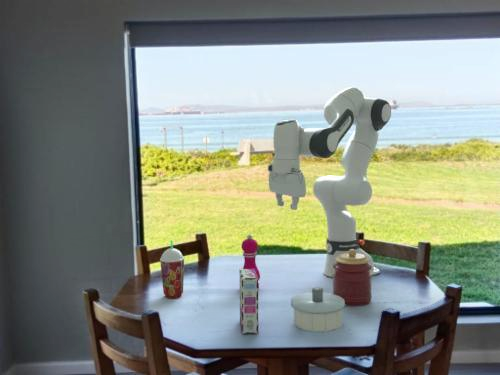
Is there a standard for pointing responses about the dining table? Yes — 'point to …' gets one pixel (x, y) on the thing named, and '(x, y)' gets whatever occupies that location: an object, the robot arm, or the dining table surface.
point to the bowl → (317, 321)
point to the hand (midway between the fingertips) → (287, 207)
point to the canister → (352, 278)
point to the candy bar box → (248, 301)
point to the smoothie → (172, 272)
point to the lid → (317, 302)
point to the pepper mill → (250, 254)
